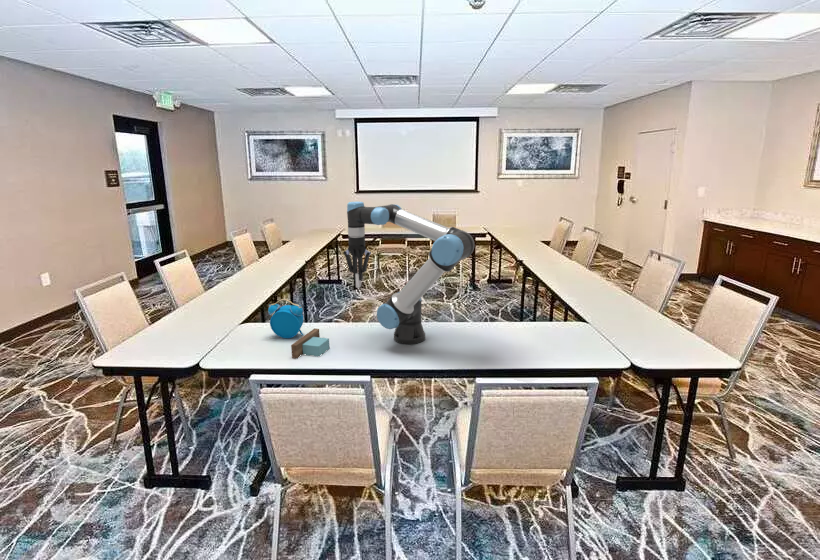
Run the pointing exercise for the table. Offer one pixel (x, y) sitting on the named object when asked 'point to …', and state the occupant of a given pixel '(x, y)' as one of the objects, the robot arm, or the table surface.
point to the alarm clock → (286, 319)
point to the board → (297, 346)
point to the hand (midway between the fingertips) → (358, 286)
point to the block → (316, 346)
